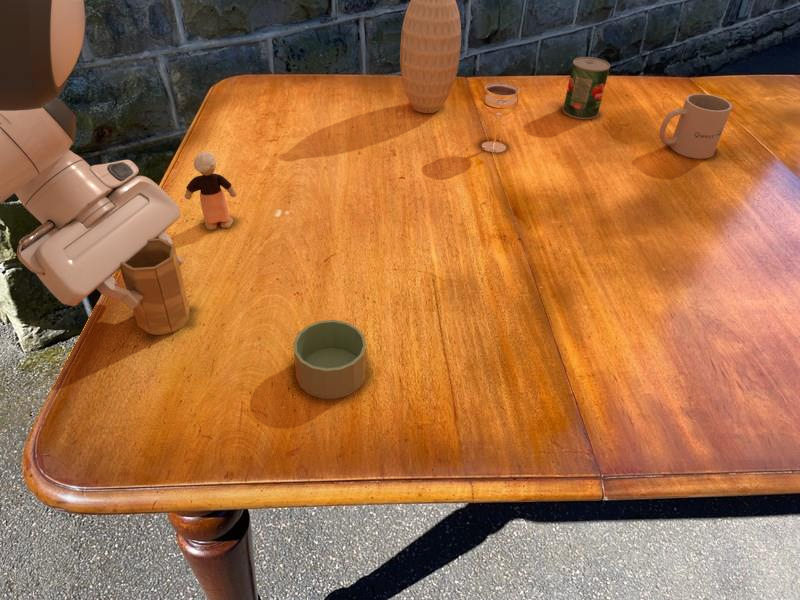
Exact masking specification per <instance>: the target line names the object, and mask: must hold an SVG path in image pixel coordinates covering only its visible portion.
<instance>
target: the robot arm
mask: <svg viewBox="0 0 800 600" xmlns="http://www.w3.org/2000/svg"><path fill="white" fill-rule="evenodd" d="M85 10H86V8H85V2H84V0H0V205H1V204H2V203H3V202H5V201H6V200H8V199H9V198H10V197H12V196H13V195H15V196H16V197H17V198H18V200H19V202H20V203H21V205H22V207H24V208H25V209H26V210H27V211H28V212H29V213H30V214H31V215H32V216H33V217H34V218H35V219H36V220H37V221H38V222H40V223H41V225H39V226H38V227H36V229H35V230H33V231H32V232H30V234H26V235H24V236H23V237H22V238H21V239H20V240H19V241H18V244H19V245H18V246H17V249H16V254H17V258H18V260H19V261H20V262H21V264H23V265H24V267H26V268H27V270H28V271H31V272H32V273H34V274H36V276H37V278H38V279H39V280H40V281H41V282H42V284H43V285H44V286H45V287H46V288H47V290H49V292H50V293H51V294H52V295H53V296H54V297H55V298H56V299H57V300H58V301H59V302H60V303H61V304H63V305H66V306H71V307H76V306H77V305H79V304H80V303H81V302H82V301H83V300H84V299H86V298H87V297H89V295H91V294H92V293H93V292H94V291H95V290H97V291H98V292H99V293H100V294H101V295H102V296H103V297H107V298H111V299H114V300H116V301H117V300H118V301H122V302H123V303H124V304H125V305H126V306H127V307H128V308H129V309H131V310H133V309H134V308H135V307H136V306H137V305H138V304H140V303H141V302H142V301H143V300H144V296H143V295H142V294H139V291H137V290H136V288H134V289H133V290H131V291H129V290H127V289H126V288H123V287H120V286H118V285H117V284H118V280H116V279H115V278H114V277H113V276H114V274H115V273H116V272H118V271H119V270H121V269H120V267H121V264H120V263H121V262H124V263H126V262H127V261H129V260H130V259H131V258H132V257H133V256H134V255H136V254H137V253H138V252H139V251H140V250H142V249H143V248H144V247H145V246H146V245H147V244H148V241H147V240H148V239H158V238H160V239H163V240H165V241H167V242H169V243H171V244H172V245H174V243H173V240H172V237H171V236H170V235H169V234H168V233H167V232H166V231H167V230H168V229H169V228H170V227H171V226H172V225H174V224H175V223H176V222H177V221H178V220H179V219H180V218H181V210H180V207H179V205H178V204H177V202H176V201H174V199H173V198H172V197H171V196H170V195H169V194H168V193H167V192H166V191H164V189H163V188H162V187H161V186H159V185H158V184H157V183H156V182H155V181H153V180H152V179H151V178H149V177H147V176H145V175H138V174H139V171H140V170H139V169H140V168H139V167H138V166H137V165H136V163H135V162H133V161H132V160H130V159H123V160H122V159H121V160H117V161H113V162H107V163H101V164H93V165H90V164H89V163H88V162H87V161H86V160H85V159H84V158H82V157H81V156H80V155H78V154H76V153H74V152H73V151H72V150H70V148H71V147H72V146H73V145H74V144H75V140H76V133H77V116H76V115H75V114H74V113H73V111H72V110H71V109H70V108H69V107H68V106H67V105H66V104H65V103H64V102H63V101H62V100H61V99H60V98H59V97H58V96H59V95H60V94H62V93H63V91H64V90H65V88H66V86H67V82H68V79H69V76H70V74H71V73H72V72H73V70H74V68H75V66H76V64H77V62H78V60H79V57H80V54H81V51H82V48H83V43H84V37H85V33H86V32H85V30H86V11H85ZM22 249H23V250H22ZM177 258H178V262H179V266H181V265H182V264H184V260H183V258H182V257H180V256H179V254H177Z"/></svg>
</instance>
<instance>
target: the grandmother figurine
mask: <svg viewBox="0 0 800 600" xmlns="http://www.w3.org/2000/svg"><path fill="white" fill-rule="evenodd" d="M193 167H194V170H195V171H197V172H198V173H200V174H201V175H196V176H195V177H193V178H192V179H191V180H190V181H189V183H188V184H187V185H186V186H185V188H186V190H185V194H184V198H185V199H186V200H191V199H192V198H193V196H192V195H193V194H194V193H196V192H199V200H200V205H201V212H202V214H203V218H204V225H205V227H206V229H207V230H210V231H212V230H216V229H217V228H218V223H220V227H221V228H223V229H227V228H230V227H231V226H232V224H233V223H234V219H233V217H231V216H230V213H229V208H228V205H227V202H226V197H225V193H224V191H223V190H222V188H223V189H224V190H225V191H226V192H227V193H229V196H230V197H231V198H235V197H236V196H237V193H238V192H237V191H236V190H235V188H234V187H233V186H232V183H231V182H230V181H229V180H228V179H227V178H226V177H224V176H223V175H221V174H219V173H214V172H215V171H216V168H217V161H216V158H215V155H214V154H213V153H211V152H210V151H202V152H200V153H197V155H196V156H195V158H194V160H193ZM221 187H222V188H221Z"/></svg>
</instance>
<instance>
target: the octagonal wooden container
mask: <svg viewBox="0 0 800 600" xmlns="http://www.w3.org/2000/svg"><path fill="white" fill-rule="evenodd" d="M147 241H148V244H147V245H146V246H145V247H144V248H143V249H142V250H140V251H139V252H138V253H137V254H136V255H134V256H133V257H132V258H131V259H130V260H129V261H127V262H126V263H124V262H121V263H120V264H121V267H120V269H119V270H120V272H121V276H122V279H123V283H124V286H125V289H126V290H129V291H131V290H133V289H134V288H136V290H137V291H139V294H142V295H143V296H144V300H143V301H142V302H141V303H140V304H138V305H137V306H136V307H135V308H134V309H132V311H133V314H134V317H135V321H136V324H137V326H138V328H140V329H142V330H143V331H145V332H146V333H148V334H150V335H153V336H154V335H155V336H163V335H169V334H172V333H174V332H177V331H179V330H180V329H182V328H183V327H184V326H185V324H187V323H188V321H189V315H190V306H189V301H188V297H187V293H186V289H185V283H184V280H183V276H182V271H181V267H180V266H181V265H180V266H179V262H178V258H177V255H178V253H177V250H176V245H174V244H173V245H172V244H171V243H169V242H167V241H165V240H163V239H160V238H158V239H148V240H147Z"/></svg>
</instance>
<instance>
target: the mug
mask: <svg viewBox="0 0 800 600" xmlns="http://www.w3.org/2000/svg"><path fill="white" fill-rule="evenodd" d="M683 103H684V104H683V106H682V108H677V109H673V110H672V111H670V112H668V114H667V115H666V116H665V118H664V119H663V120H662V123H661V125H660V127H659V128H660V129H659V139H660V141H661V143H663V144H664V145H666V146H670V148H671V150H673V151H674V153H677V154H678V155H681V156H683V157H686V158H691V159H697V160H699V159H700V160H702V159H703V160H705V159H709V158H711V157H713V156H714V154H715V152H716V149H717V147H718V144H719V142H720V139H721V136H722V133H723V131H724V129H725V126H726V124H727V121H728V119H729V116H730V113H731V111H732V108H733V105H732V103H731V102H730V101H728V100H726V99H725V98H723V97H720V96H717V95H713V94H709V93H708V94H706V93H691V94H689V95H687V96H686V98H685V100H684V102H683ZM676 116H679V118H678V121H677V124H676V127H675V130H674V133H673V136H672V138H666V137H665V136H666V130H667V127H668V125H669V123H670V122H671V120H672V119H673V118H674V117H676Z"/></svg>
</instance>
